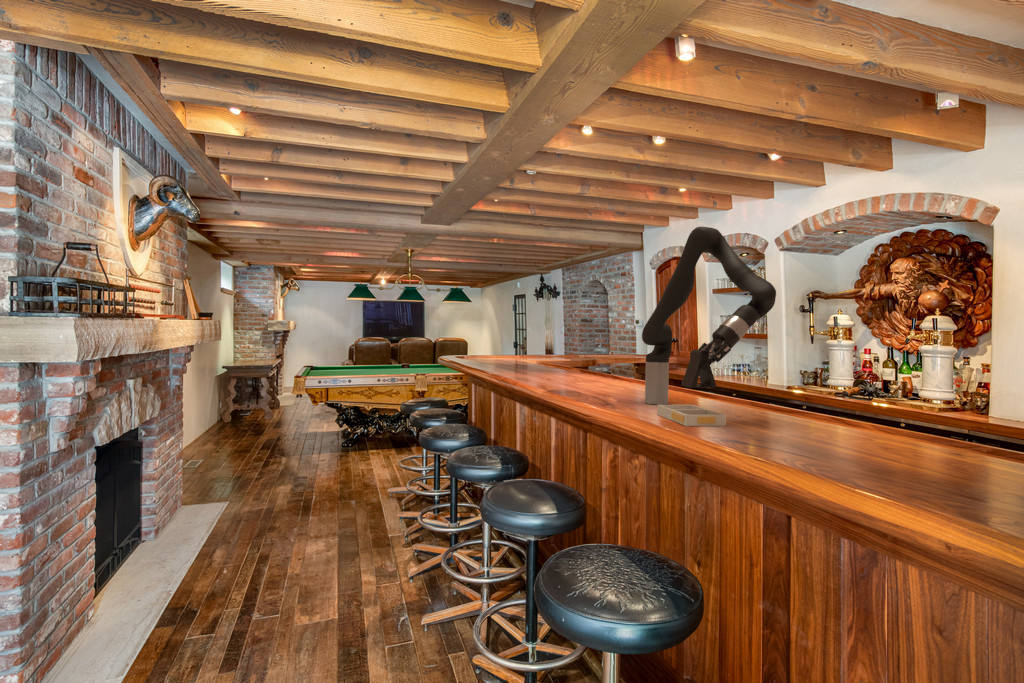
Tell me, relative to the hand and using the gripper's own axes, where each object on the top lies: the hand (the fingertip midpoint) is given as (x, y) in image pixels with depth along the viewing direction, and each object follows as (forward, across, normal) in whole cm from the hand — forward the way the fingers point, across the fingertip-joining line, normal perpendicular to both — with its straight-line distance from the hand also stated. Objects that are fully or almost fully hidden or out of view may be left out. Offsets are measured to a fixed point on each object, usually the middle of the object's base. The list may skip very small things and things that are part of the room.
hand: (696, 367), depth 159 cm
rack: (+12, -5, +13) cm, 19 cm away
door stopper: (+4, 0, +5) cm, 6 cm away
